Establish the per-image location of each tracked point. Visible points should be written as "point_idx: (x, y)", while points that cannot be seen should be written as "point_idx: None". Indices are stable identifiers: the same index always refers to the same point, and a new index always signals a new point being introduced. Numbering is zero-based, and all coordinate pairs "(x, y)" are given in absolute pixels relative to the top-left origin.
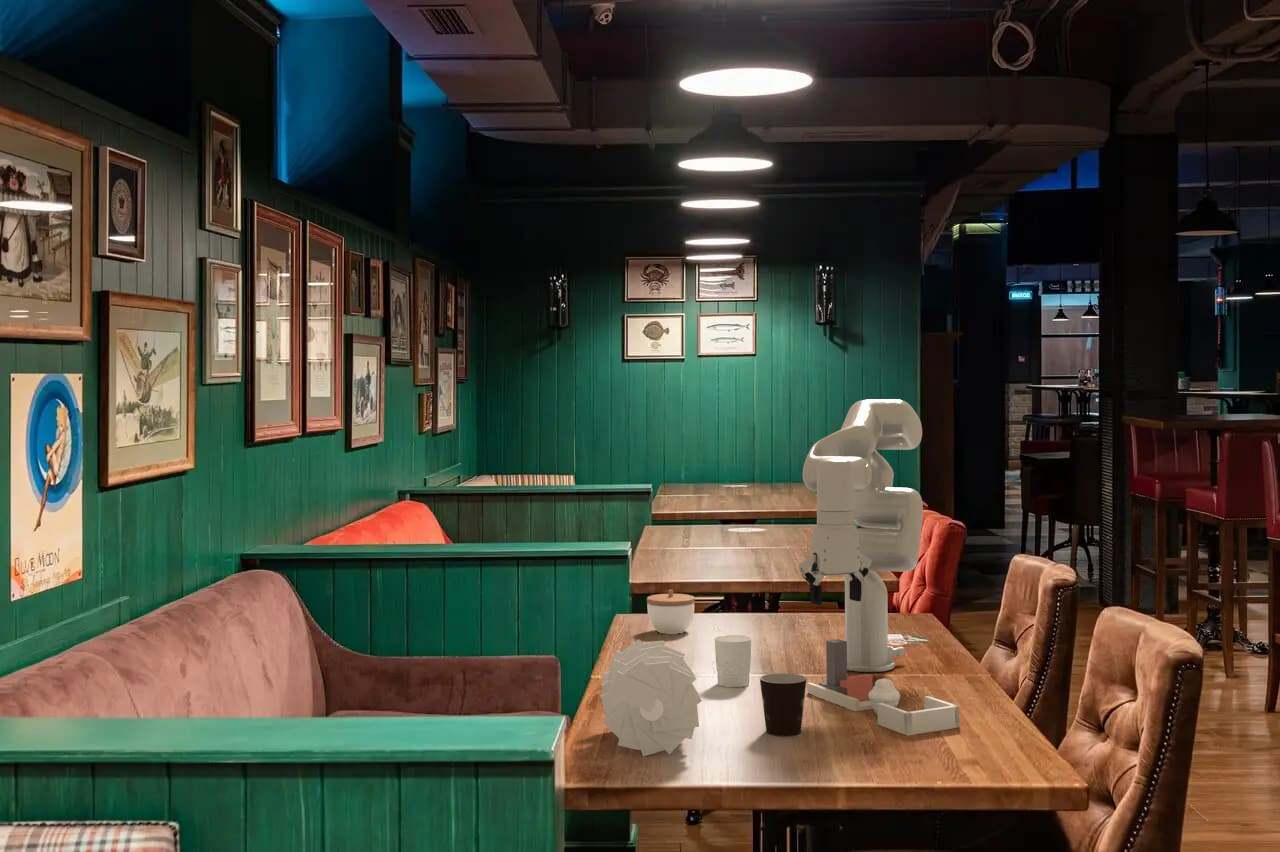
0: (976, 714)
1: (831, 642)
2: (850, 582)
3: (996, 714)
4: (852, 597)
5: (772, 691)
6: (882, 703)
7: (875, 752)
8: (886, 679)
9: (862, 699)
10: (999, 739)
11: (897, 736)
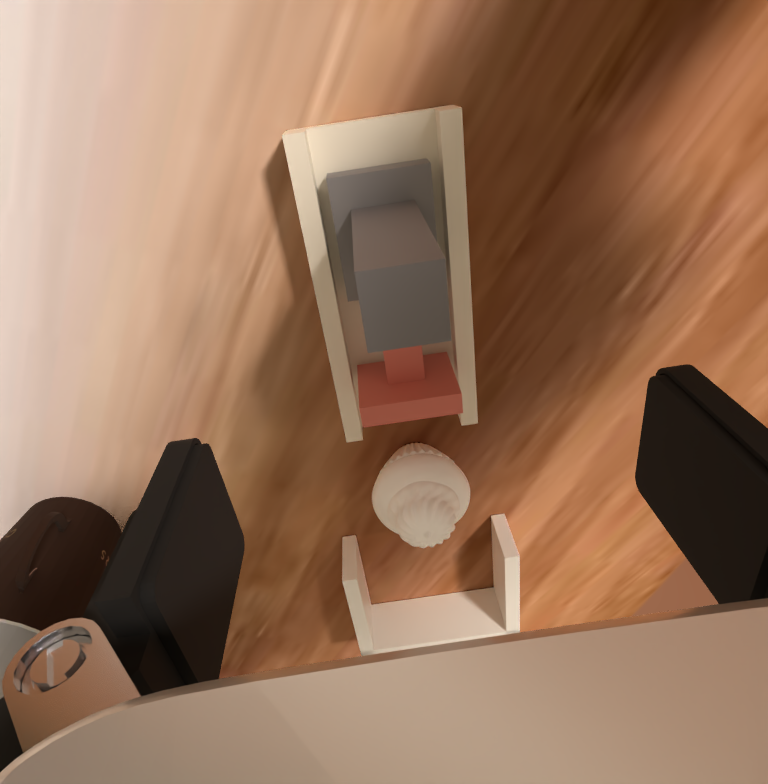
0: (625, 524)
1: (363, 321)
2: (766, 506)
3: (666, 535)
4: (654, 428)
5: None
6: (354, 585)
7: (242, 674)
8: (437, 533)
9: None
10: None
11: (337, 612)
